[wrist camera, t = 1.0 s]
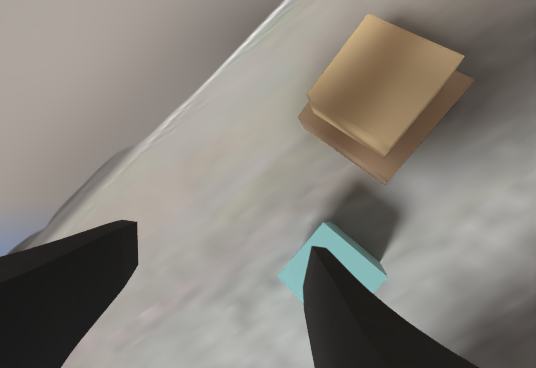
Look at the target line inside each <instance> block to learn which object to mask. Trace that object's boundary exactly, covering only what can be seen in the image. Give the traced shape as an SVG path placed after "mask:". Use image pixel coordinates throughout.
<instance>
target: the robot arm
mask: <svg viewBox="0 0 536 368" xmlns="http://www.w3.org/2000/svg"><path fill="white" fill-rule="evenodd" d="M137 266H138V237H137V222H134V221H127V220H119V221H115V222H112V223H108V224H105V225H102V226H99V227H96V228H93V229H90V230H87V231H84V232H81V233H78V234H75V235H72V236H69V237H66V238H63V239H60V240H57V241H53V242H50V243H47V244H44V245H40V246H37V247H34V248H31V249H27V250H24V251H20V252H17V253H13V254H9V255H5V256H2V257H0V368H61V366H62V365H63V364H64V362H65V361H66V359H67V358H68V356H69V355H70V353H71V352H72V351H73V349H74V348H75V347H76V346H77V344H78V343H79V342H80V340H81V339H82V338H83V337H84V335H85V334H86V333H87V332H88V331H89V329H90V328H91V327H92V326H93V325H94V323H95V322H96V321H97V320H98V318H99V317H100V316H101V315H102V314H103V312H104V311H105V310H106V309H107V308H108V306H109V305H110V304H111V303H112V302H113V300H114V299H115V298H116V297H117V295H118V294H119V293H120V292H121V290H122V289H123V288H124V287H125V285H126V284H127V282H128V280H129V279H130V277H131V276H132V274H133V272H134V271H135V269H136V267H137ZM303 301H304V312H305V318H306V323H307V329H308V334H309V340H310V345H311V350H312V355H313V361H314V366H315V368H479V367H477V366H475V365H474V364H472V363H470V362H469V361H467V360H465V359H463V358H462V357H460V356H458V355H457V354H455V353H454V352H452V351H450V350H449V349H447V348H446V347H444V346H442V345H441V344H439V343H438V342H436V341H435V340H433V339H432V338H430V337H429V336H427V335H426V334H424V333H423V332H422V331H420V330H419V329H417V328H416V327H414V326H413V325H412V324H410V323H409V322H407V321H406V320H405V319H403V318H402V317H401V316H400V315H398V314H397V313H396V312H394V311H393V310H392V309H391V308H389V307H388V306H387V305H386V304H384V303H383V302H382V301H381V300H380V299H378V298H377V297H376V296H375V295H374V294H373V293H372V292H371V291H369V290H368V289H367V288H366V287H365V286H364V285H363V284H362V283H361V282H360V281H359V280H358V279H357V278H356V277H355V276H354V275H353V274H352V273H351V272H350V271H349V270H348V269H347V268H346V267H345V266H344V265H343V264H342V263H341V262H340V261H339V260H338V259H337V258H336V257H335V256H334V255H333V254H332V253H331V252H330V251H329V250H328V249H327V248H325V247H318V246H311V251H310V255H309V260H308V265H307V269H306V274H305V278H304V283H303Z"/></svg>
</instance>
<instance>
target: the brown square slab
mask: <svg viewBox="0 0 536 368" xmlns="http://www.w3.org/2000/svg"><path fill="white" fill-rule="evenodd" d="M474 80H475V79H473V78H471V77H469V76H467V75H465V74H463V73H460V72H458V71H456V70H455V71H454V73H453V74H452V76H451V77H450V79H449V80H448V82H447V83H446V84H445V86H444V87H443V88H442V89H441V91H440V92H439V93H438V94H437V95H436V97H435V98H434V99H433V100H432V101H431V103H430V104H429V105H428V106H427V107H426V109H425V110H424V111H423V112H422V114H421V115H420V116H419V117H418V118H417V120H416V121H415V122H414V123H413V124H412V126H411V127H410V128H409V129H408V130H407V132H406V133H405V134H404V135H403V137H402V138H401V139H400V140H399V141H398V143H397V144H396V145H395V146H394V147H393V149H392V150H391V151H390V152H389V153H388V155H387V156H386V157H385V158H384V159H383V158H382V157H380V156H379V155H377V154H376V153H374V152H373V151H371V150H370V149H368V148H367V147H365V146H363V145H362V144H360V143H359V142H357V141H356V140H354V139H353V138H351V137H350V136H348V135H347V134H345V133H343V132H342V131H340V130H339V129H337V128H336V127H334V126H333V125H331V124H330V123H328V122H327V121H325V120H323V119H322V118H320V117H319V116H317V115H316V114H314V113H313V110H312V108H311V105H310V102H309V103H308V104H307V105H306V107H305V108H304V109H303V110H302V112H301V113H300V114H299V116H298V118H299V120H300V122H301V123H302V125H303V127H304V128H305V129H306V130H308V131H309V132H311V133H312V134H314V135H315V136H316V137H318V138H319V139H321V140H322V141H323V142H325V143H326V144H328V145H329V146H331V147H332V148H333V149H335V150H336V151H338V152H339V153H341V154H342V155H343V156H345V157H346V158H348V159H349V160H351V161H352V162H353V163H355V164H356V165H358V166H359V167H360V168H362V169H363V170H365V171H366V172H368V173H369V174H370V175H372V176H373V177H375V178H376V179H378V180H379V181H380V182H382V183H383V184H386V183H387V182H388V181H389V180H390V178H391V177H392V176H393V175H394V174H395V173H396V171H397V170H398V169H399V168H400V167H401V166H402V164H403V163H404V162H405V161H406V160H407V159H408V157H409V156H410V155H411V154H412V153H413V152H414V150H415V149H416V148H417V147H418V146H419V145H420V143H421V142H422V141H423V140H424V139H425V138H426V136H427V135H428V134H429V133H430V132H431V131H432V129H433V128H434V127H435V126H436V125H437V124H438V122H439V121H440V120H441V119H442V118H443V117H444V115H445V114H446V113H447V112H448V111H449V110H450V108H451V107H452V106H453V105H454V104H455V103H456V101H457V100H458V99H459V98H460V97H461V96H462V94H463V93H464V92H465V91H466V90H467V89H468V87H469V86H470V85H471V84H472V83H473V82H474Z"/></svg>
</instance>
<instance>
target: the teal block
mask: <svg viewBox="0 0 536 368" xmlns="http://www.w3.org/2000/svg"><path fill="white" fill-rule="evenodd" d="M311 246H318V247H325V248H327V249H328V250H329V251H330V252H331V253H332V254H333V255H334V256H335V257H336V258H337V259H338V260H339V261H340V262H341V263H342V264H343V265H344V266H345V267H346V268H347V269H348V270H349V271H350V272H351V273H352V274H353V275H354V276H355V277H356V278H357V279H358V280H359V281H360V282H361V283H362V284H363V285H364V286H365V287H366V288H367V289H368V290H369V291H371V292H372V293H374V292H375V291H376V290H377V289H378V288H379V286H380V285H381V284H382V283H383V282H384V281H385V280H386V279H387V278H388V276H387V274H386V273H385V271H384V269H383V267H382V265H381V264H380V262H379V261H378V260H377V259H375V258H374V257H373V256H372V255H371V254H369V253H368V252H367V251H366V250H365V249H363V248H362V247H361V246H360V245H359V244H357V243H356V242H355V241H354V240H353V239H351V238H350V237H349V236H348V235H347V234H345V233H344V232H343V231H342V230H341V229H339V228H338V227H337V226H336V225H335V224H333V223H332V222H331V221H330V222H323V223H322V224H321V226H320V227H319V228H318V229H317V230H316V231H315V233H314V234H313V235H312V236H311V237H310V239H309V240H308V241H307V242H306V243H305V244H304V246H303V247H302V248H301V249H300V250H299V252H298V253H297V254H296V255H295V256H294V257H293V259H292V260H291V261H290V262H289V263H288V265H287V266H286V267H285V268H284V269H283V270H282V272H281V273H280V274H279V275H278V276H277V277H278V278H279V279H280V280H281V281H282V282H283V283H284V284H285V285H286V286H287V287H288V288H289V289H290V290H291V291H292V292H293V293H294V294H295V295H296V297H297V298H298V299H299V300H300V301H301V302H302V303H303V304H304V301H303V283H304V278H305V274H306V269H307V265H308V260H309V255H310V251H311Z"/></svg>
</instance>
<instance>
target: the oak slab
mask: <svg viewBox="0 0 536 368" xmlns="http://www.w3.org/2000/svg"><path fill="white" fill-rule="evenodd" d="M464 57H465V56H463V55H461V54H459V53H457V52H454V51H452V50H450V49H448V48H445V47H443V46H441V45H438V44H436V43H434V42H432V41H429V40H427V39H425V38H423V37H420V36H418V35H416V34H413V33H411V32H409V31H407V30H404V29H402V28H400V27H398V26H395V25H393V24H391V23H388V22H386V21H384V20H382V19H379V18H377V17H375V16H373V15H370V14H367V16H366V17H365V18H364V19H363V21H362V22H361V23H360V25H359V26H358V27H357V29H356V30H355V31H354V33H353V34H352V35H351V37H350V38H349V39H348V40H347V42H346V43H345V44H344V46H343V47H342V48H341V50H340V51H339V52H338V54H337V55H336V56H335V58H334V59H333V60H332V61H331V63H330V64H329V65H328V67H327V68H326V69H325V71H324V72H323V73H322V75H321V76H320V77H319V79H318V80H317V81H316V82H315V84H314V85H313V86H312V88H311V89H310V90H309V92H308V93H307V97H308V100H309V102H310V105H311V108H312V110H313V113H314V114H316V115H317V116H319V117H320V118H322V119H323V120H325V121H327V122H328V123H330V124H331V125H333V126H334V127H336V128H337V129H339V130H340V131H342V132H343V133H345V134H347V135H348V136H350V137H351V138H353V139H354V140H356V141H357V142H359V143H360V144H362V145H363V146H365V147H367V148H368V149H370V150H371V151H373V152H374V153H376V154H377V155H379V156H380V157H382V158H383V159H384V158H385V157H386V156H387V155H388V153H389V152H390V151H391V150H392V149H393V147H394V146H395V145H396V144H397V143H398V141H399V140H400V139H401V138H402V137H403V135H404V134H405V133H406V132H407V130H408V129H409V128H410V127H411V126H412V124H413V123H414V122H415V121H416V120H417V118H418V117H419V116H420V115H421V114H422V112H423V111H424V110H425V109H426V107H427V106H428V105H429V104H430V103H431V101H432V100H433V99H434V98H435V97H436V95H437V94H438V93H439V92H440V91H441V89H442V88H443V87H444V86H445V84H446V83H447V82H448V80H449V79H450V77H451V76H452V74H453V73H454V71H455V70H456V68H457V67H458V66H459V64H460V63H461V61H462V60H463V58H464Z"/></svg>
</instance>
